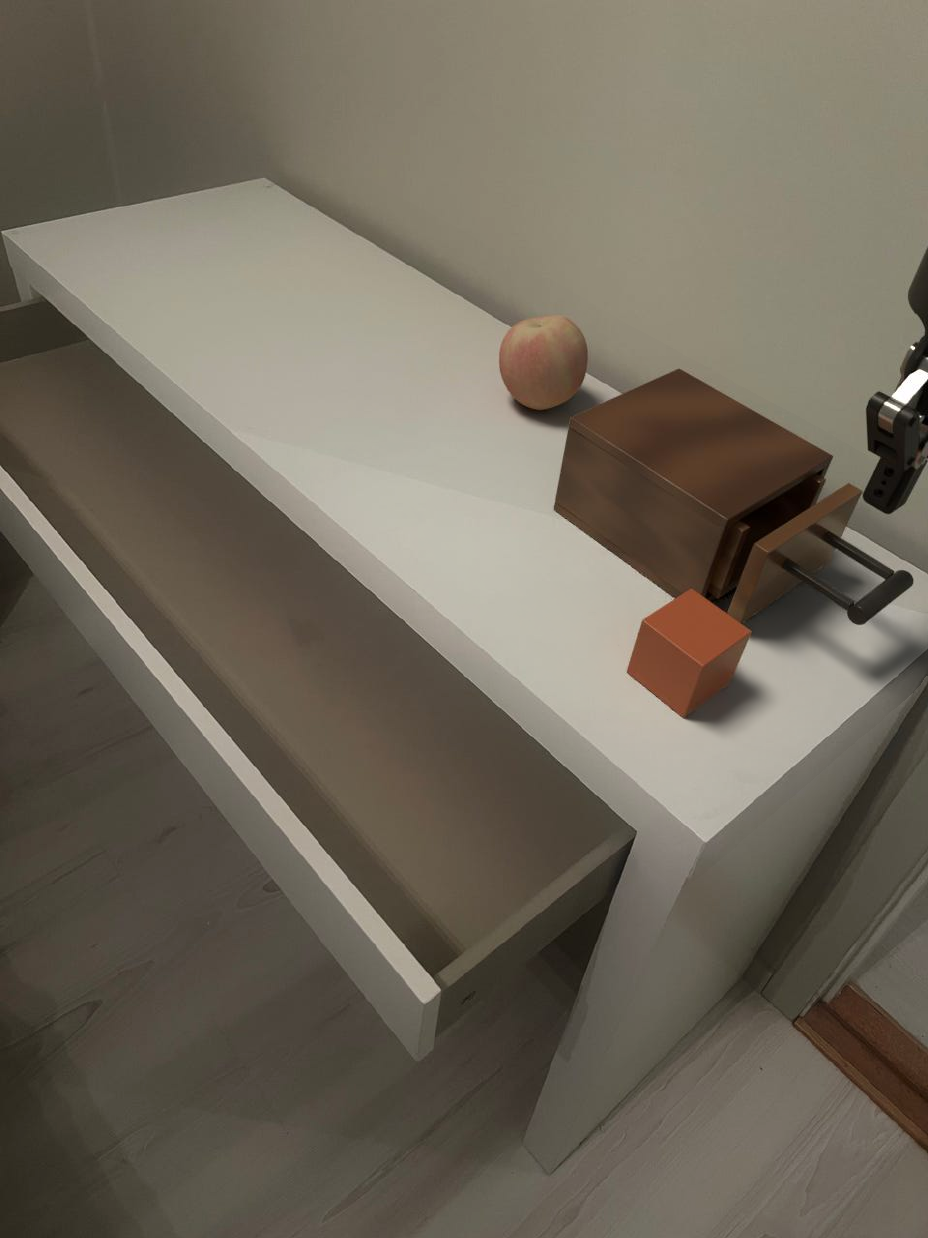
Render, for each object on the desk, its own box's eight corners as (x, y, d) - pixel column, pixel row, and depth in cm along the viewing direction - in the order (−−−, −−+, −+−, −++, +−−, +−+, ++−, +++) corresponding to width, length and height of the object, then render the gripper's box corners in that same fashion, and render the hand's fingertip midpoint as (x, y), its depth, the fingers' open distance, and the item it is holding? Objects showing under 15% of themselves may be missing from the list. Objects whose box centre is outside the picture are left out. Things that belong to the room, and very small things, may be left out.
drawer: (907, 612, 67) (949, 540, 63) (819, 684, 62) (858, 611, 57) (691, 474, 78) (713, 404, 73) (599, 525, 72) (615, 452, 67)
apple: (559, 375, 89) (572, 295, 83) (594, 418, 84) (611, 337, 78) (482, 385, 87) (490, 304, 81) (514, 430, 82) (525, 347, 76)
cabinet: (795, 545, 73) (834, 455, 67) (694, 613, 67) (727, 520, 61) (655, 456, 81) (679, 367, 75) (552, 509, 74) (569, 416, 68)
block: (730, 683, 62) (752, 631, 59) (683, 718, 60) (703, 666, 56) (673, 639, 65) (691, 587, 61) (625, 672, 62) (641, 619, 59)
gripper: (1032, 293, 41) (878, 578, 54) (1145, 230, 48) (985, 496, 60) (884, 231, 45) (771, 511, 57) (1009, 180, 52) (884, 441, 64)
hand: (881, 503), depth 59 cm, fingers closed
